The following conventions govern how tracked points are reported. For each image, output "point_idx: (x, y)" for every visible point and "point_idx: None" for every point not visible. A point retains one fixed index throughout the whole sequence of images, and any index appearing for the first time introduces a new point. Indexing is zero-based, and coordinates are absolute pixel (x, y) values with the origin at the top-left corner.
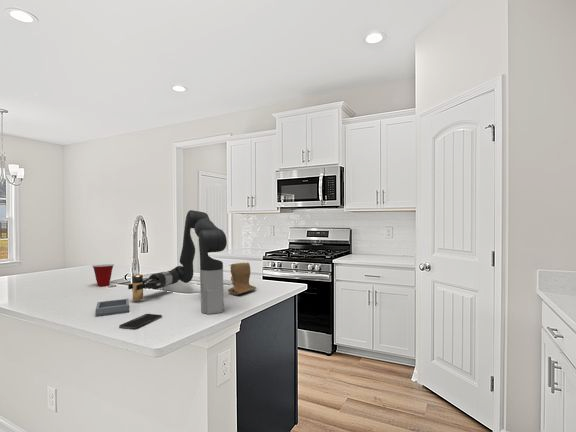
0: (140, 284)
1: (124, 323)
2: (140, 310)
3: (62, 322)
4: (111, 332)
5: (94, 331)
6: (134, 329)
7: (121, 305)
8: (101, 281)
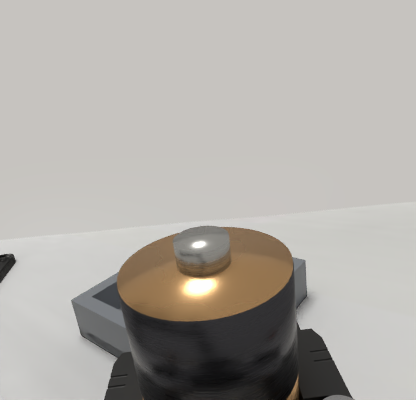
0: (134, 370)
1: (5, 265)
2: (30, 381)
3: (236, 218)
4: (19, 244)
5: (75, 233)
6: None
7: (111, 284)
8: None
